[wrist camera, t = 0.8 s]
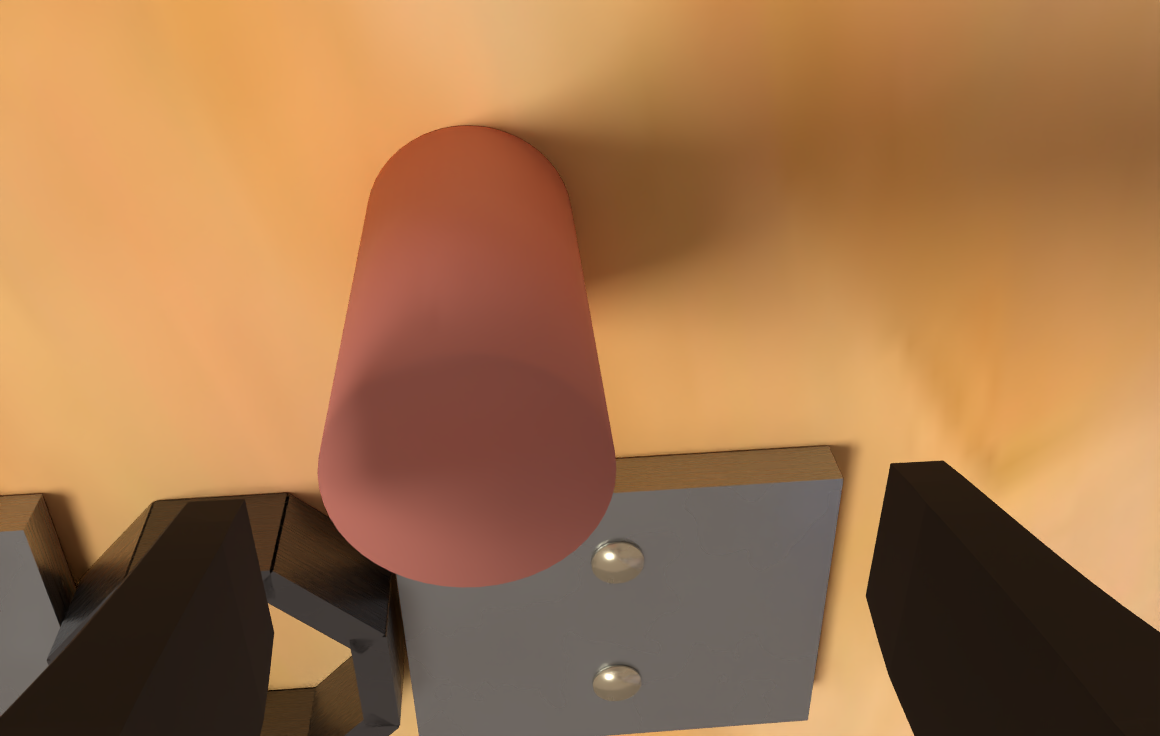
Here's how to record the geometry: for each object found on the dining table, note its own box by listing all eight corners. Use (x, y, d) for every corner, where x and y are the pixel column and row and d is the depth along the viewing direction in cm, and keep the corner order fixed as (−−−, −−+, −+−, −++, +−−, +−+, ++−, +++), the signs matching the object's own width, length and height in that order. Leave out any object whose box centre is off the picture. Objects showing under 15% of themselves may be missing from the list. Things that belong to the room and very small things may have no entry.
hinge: (796, 684, 30) (821, 762, 27) (-275, 763, 28) (-335, 853, 26) (828, 445, 25) (861, 517, 23) (-437, 523, 24) (-526, 607, 21)
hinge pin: (574, 307, 23) (615, 577, 16) (378, 317, 22) (339, 596, 16) (570, 121, 21) (617, 344, 14) (354, 130, 20) (296, 362, 14)
